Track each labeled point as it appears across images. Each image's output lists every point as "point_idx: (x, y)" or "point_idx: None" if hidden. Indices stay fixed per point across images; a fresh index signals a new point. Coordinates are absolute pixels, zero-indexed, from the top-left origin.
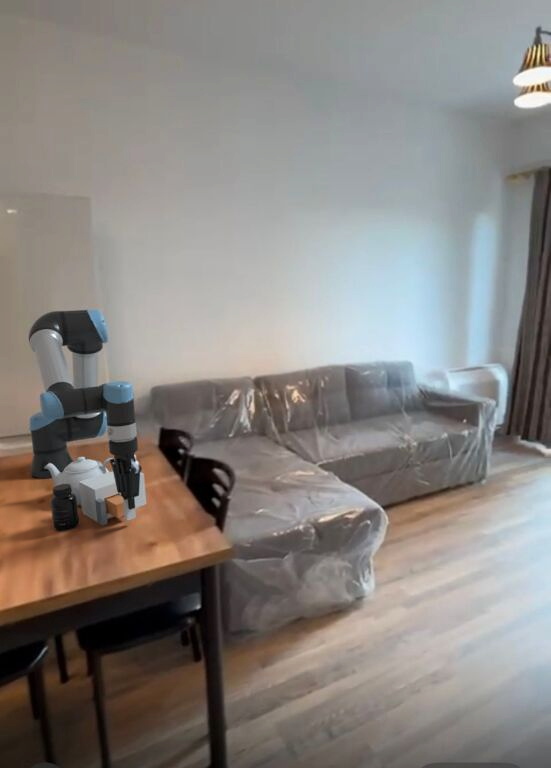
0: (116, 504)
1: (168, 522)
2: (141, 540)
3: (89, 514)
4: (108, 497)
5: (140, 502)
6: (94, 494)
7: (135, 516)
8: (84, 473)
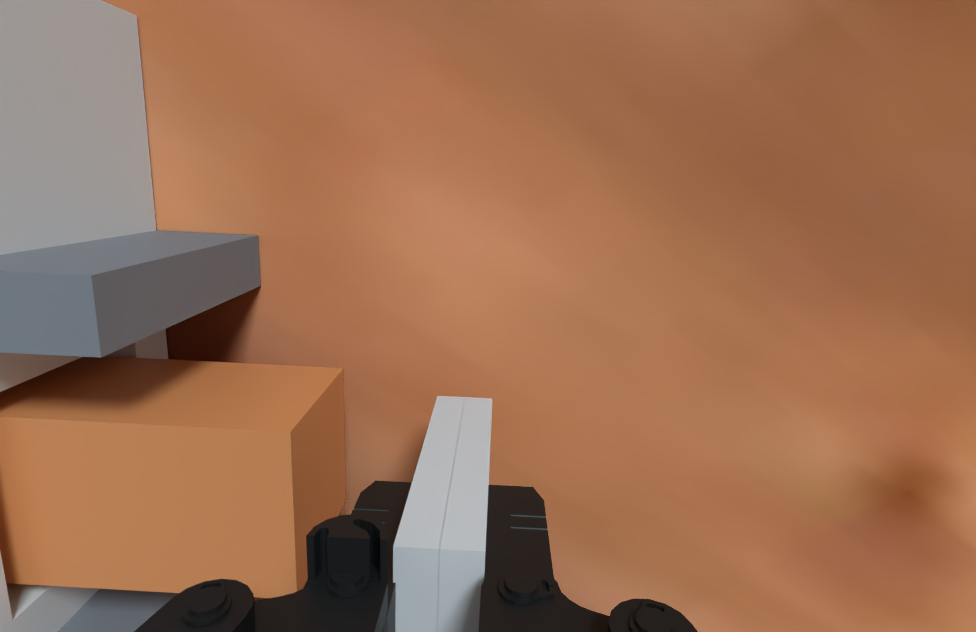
0: (283, 593)
1: (720, 157)
2: (773, 508)
3: None
4: None
5: (115, 90)
6: None
7: (491, 409)
8: None
